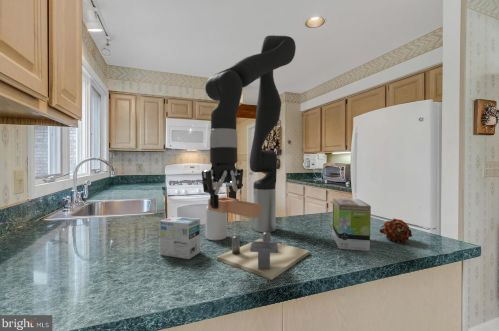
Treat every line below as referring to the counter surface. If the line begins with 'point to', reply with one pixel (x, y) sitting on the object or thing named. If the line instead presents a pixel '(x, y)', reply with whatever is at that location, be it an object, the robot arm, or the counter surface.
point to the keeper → (264, 252)
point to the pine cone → (396, 230)
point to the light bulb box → (180, 237)
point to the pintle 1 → (235, 244)
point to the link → (237, 207)
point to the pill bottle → (216, 225)
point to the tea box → (351, 224)
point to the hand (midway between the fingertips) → (223, 206)
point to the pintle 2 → (266, 237)
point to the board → (277, 260)
